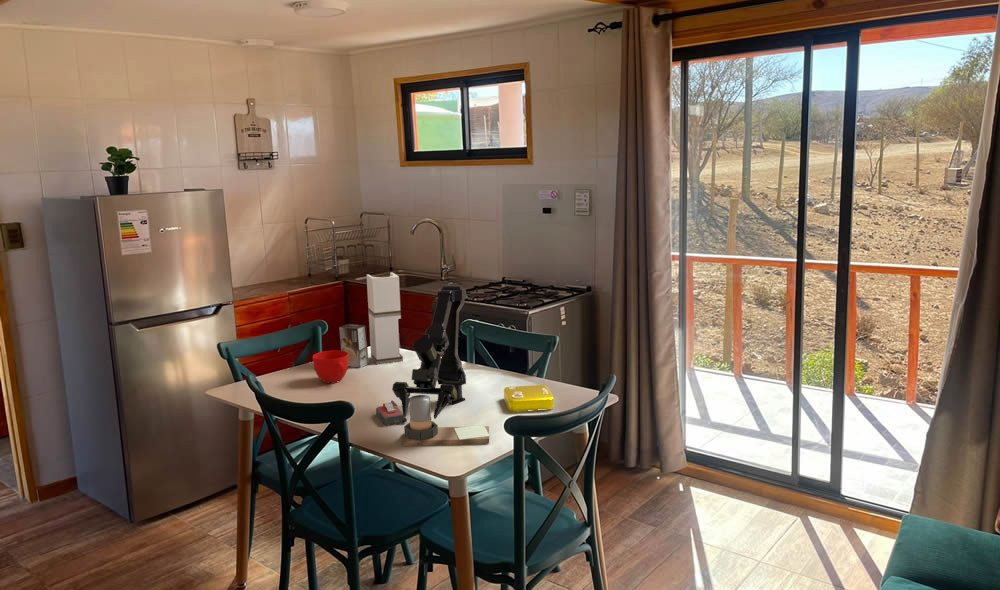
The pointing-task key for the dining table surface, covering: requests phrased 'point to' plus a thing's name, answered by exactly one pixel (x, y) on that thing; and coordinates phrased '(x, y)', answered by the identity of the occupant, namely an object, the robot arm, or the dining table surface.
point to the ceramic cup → (331, 365)
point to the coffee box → (354, 344)
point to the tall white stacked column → (384, 318)
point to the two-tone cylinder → (420, 413)
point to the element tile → (528, 398)
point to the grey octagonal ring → (421, 432)
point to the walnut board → (445, 438)
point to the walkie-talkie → (390, 414)
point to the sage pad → (471, 432)
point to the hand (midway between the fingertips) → (419, 417)
